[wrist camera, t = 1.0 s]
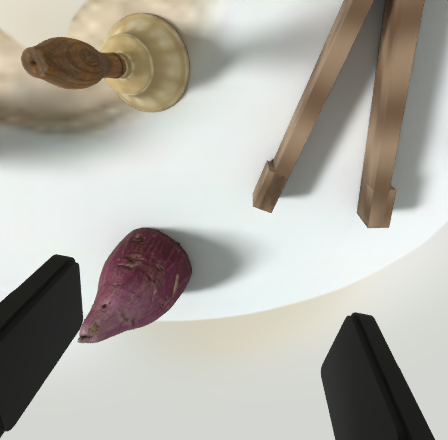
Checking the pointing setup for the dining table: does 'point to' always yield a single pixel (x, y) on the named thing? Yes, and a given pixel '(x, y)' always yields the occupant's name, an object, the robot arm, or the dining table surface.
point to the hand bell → (119, 62)
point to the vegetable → (136, 284)
